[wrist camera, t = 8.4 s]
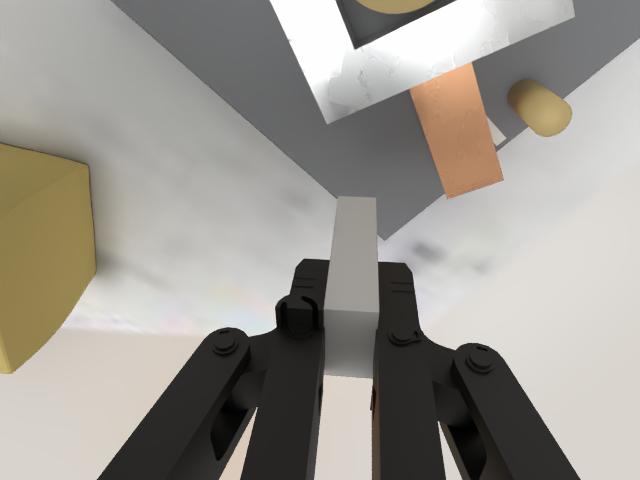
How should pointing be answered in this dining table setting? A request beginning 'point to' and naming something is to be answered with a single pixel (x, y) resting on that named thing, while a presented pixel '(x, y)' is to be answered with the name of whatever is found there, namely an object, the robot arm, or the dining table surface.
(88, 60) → the dining table surface
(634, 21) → the jig
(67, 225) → the cheese
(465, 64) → the handled square frame
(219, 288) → the dining table surface
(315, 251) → the dining table surface
